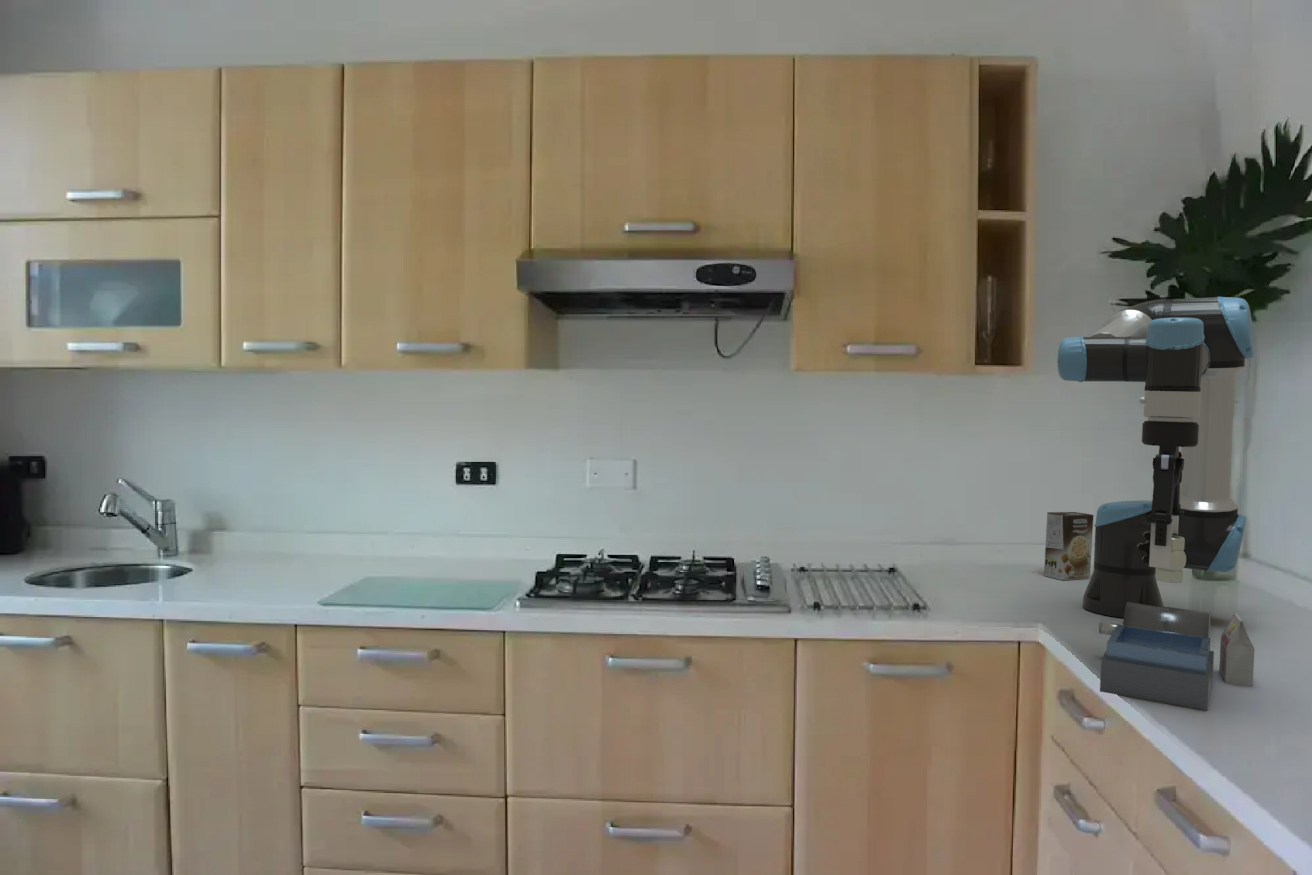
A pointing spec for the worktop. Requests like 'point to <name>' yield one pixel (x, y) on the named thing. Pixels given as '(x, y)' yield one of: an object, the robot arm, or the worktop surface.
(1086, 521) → the coffee box
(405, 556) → the worktop surface
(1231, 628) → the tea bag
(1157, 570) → the valve
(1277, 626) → the worktop surface
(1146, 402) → the robot arm
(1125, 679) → the motor
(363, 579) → the worktop surface
